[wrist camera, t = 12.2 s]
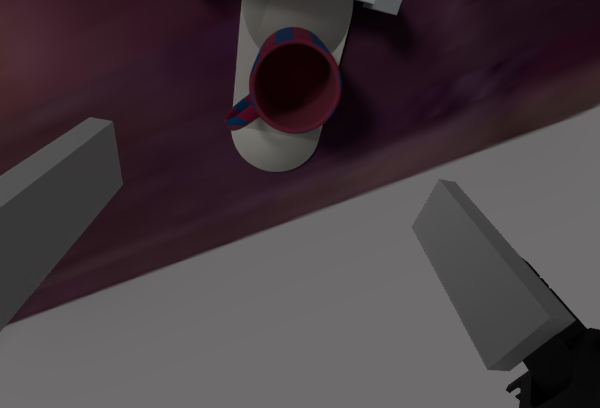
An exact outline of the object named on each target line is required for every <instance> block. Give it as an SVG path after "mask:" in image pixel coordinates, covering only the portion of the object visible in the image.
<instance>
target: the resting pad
mask: <svg viewBox="0 0 600 408" xmlns="http://www.w3.org/2000/svg"><path fill="white" fill-rule="evenodd" d="M352 10H353V0H242V5H241V17H240V29H239V41H238V53H237V65H236V77H235V89H234V101H233V107H234V106H235V105H236V104H237V103H238V102H239V101H241V100H242V99H243V98H244V97H246V96H247V95H248V94H250V93H249V78H250V73H251V70H252V67H253V64H254V62H255V60H256V57H257V55H258V53H259V50H260V48H261V47H262V45H263V43H264V42H265V41H266V39H267V38H268V37H269V36H270V35H272V34H273V33H274V32H276V31H278V30H280V29H283V28H287V27H300V28H303V29H307V30H309V31H310V32H312V33H314V34H315V35H316V36H317V37H319V39H320V40H321V41H322V42H323V43H324V45H325V46H326V48H327V49H328V50H329V52H330V53H331V55H332V56H333V58H334V59H335V61H336V63H337V65H338V66H339V62H340V59H341V55H342V51H343V47H344V44H345V40H346V36H347V32H348V29H349V25H350V21H351V17H352ZM322 126H323V125H321V126H320V127H318V128H317V129H314V130H312V131H310V132H306V133H300V134H290V133H285V132H281V131H278V130H276V129H274V128H272V127H271V126H269V125H268V124H267V123H266V122H264V121H263V120H262V119H261V117H259V118H257V119H256V120H254V121H253V122H251V123H250V124H248V125H247V126H245V127H243V128H241V129H239V130H236V131H231V132H232V138H233V142H234V144H235V146H236V148H237V150H238V152H239V153H240V154H241V156H242V157H243V158H244V159H245V160H246V161H248V162H249V163H250V164H252V165H253V166H255V167H257V168H259V169H262V170H266V171H271V172H283V171H288V170H291V169H294V168H296V167H298V166H300V165H302V164H303V163H304V162H306V161H307V160H308V159H309V158H310V156H311V155H312V154H313V152H314V151H315V149H316V147H317V144H318V140H319V137H320V133H321V129H322Z"/></svg>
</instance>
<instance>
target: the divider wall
mask: <svg viewBox="0 0 600 408" xmlns="http://www.w3.org/2000/svg"><path fill="white" fill-rule="evenodd" d="M357 1H360V2H363V6H362V7H365V8H369V9H373V10H377V11H380V12H385V13H389V14H394V15H397V13H398V10H399V7H400V4H401V1H402V0H357Z"/></svg>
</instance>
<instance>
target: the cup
mask: <svg viewBox="0 0 600 408" xmlns="http://www.w3.org/2000/svg"><path fill="white" fill-rule="evenodd" d="M341 91H342V79H341V74H340V70H339V67H338V65H337V63H336V61H335V59H334V58H333V56H332V55H331V53H330V52H329V50H328V49H327V48H326V46H325V45H324V43H323V42H322V41H321V40H320V39H319V37H317V36H316V35H315V34H314V33H312V32H310V31H309V30H307V29H303V28H300V27H287V28H283V29H280V30H278V31H276V32H274V33H273V34H272V35H270V36H269V37H268V38H267V39H266V41H265V42H264V43H263V45H262V47H261V48H260V50H259V53H258V55H257V57H256V60H255V62H254V64H253V67H252V70H251V73H250V78H249V93H250V94H248V95H247V96H246V97H244V98H243V99H242V100H241V101H239V102H238V103H237V104H236V105H235V106H234V107H233V108H232V109H231V110H230V111H229V112H228V113H227V115H226V116H225V119H224V122H225V124H226V126H227V127H228V128H229V129H230V130H231V131H236V130H239V129H241V128H243V127H245V126H247V125H248V124H250V123H251V122H253V121H254V120H256V119H257V118H259V117H261V119H262V120H263V121H264V122H266V123H267V124H268V125H269V126H271V127H272V128H274V129H276V130H278V131H281V132H285V133H290V134H300V133H306V132H310V131H312V130H314V129H317V128H318V127H320V126H321V125H323V124H324V123H325V122H326V121H327V120H328V119H329V118H330V117H331V116H332V114H333V113H334V112H335V110H336V108H337V106H338V103H339V100H340V97H341Z"/></svg>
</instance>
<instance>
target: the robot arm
mask: <svg viewBox="0 0 600 408" xmlns="http://www.w3.org/2000/svg"><path fill="white" fill-rule="evenodd" d="M122 185H123V182H122V176H121V170H120V164H119V157H118V151H117V145H116V139H115V132H114V126H113V121H108V120H102V119H96V118H91V117H90V118H88V119H87V120H85V121H83V122H82V123H80V124H79V125H77V126H76V127H74V128H73V129H71V130H70V131H68V132H67V133H65V134H64V135H62V136H61V137H59V138H58V139H56V140H55V141H53V142H51V143H50V144H48V145H47V146H45V147H44V148H42V149H41V150H39V151H38V152H36V153H35V154H33V155H32V156H30V157H29V158H27V159H26V160H24V161H22V162H21V163H19V164H18V165H16V166H15V167H13V168H12V169H10V170H9V171H7V172H6V173H4V174H3V175H1V176H0V331H1V330H2V329H3V328H4V327H5V325H6V324H7V323H8V322H9V321H10V319H11V318H12V317H13V316H14V315H15V313H16V312H17V311H18V310H19V309H20V307H21V306H22V305H23V304H24V303H25V301H26V300H27V299H28V298H29V297H30V295H31V294H32V293H33V292H34V291H35V289H36V288H37V287H38V286H39V285H40V283H41V282H42V281H43V280H44V279H45V277H46V276H47V275H48V274H49V273H50V271H51V270H52V269H53V268H54V267H55V265H56V264H57V263H58V262H59V261H60V259H61V258H62V257H63V256H64V255H65V253H66V252H67V251H68V250H69V249H70V247H71V246H72V245H73V244H74V243H75V241H76V240H77V239H78V238H79V237H80V235H81V234H82V233H83V232H84V231H85V229H86V228H87V227H88V226H89V225H90V223H91V222H92V221H93V220H94V219H95V217H96V216H97V215H98V214H99V213H100V211H101V210H102V209H103V208H104V207H105V205H106V204H107V203H108V202H109V201H110V199H111V198H112V197H113V196H114V195H115V193H116V192H117V191H118V190H119V189H120V187H121V186H122ZM412 228H413V230H414V232H415V234H416V236H417V238H418V239H419V241H420V243H421V245H422V247H423V249H424V251H425V253H426V255H427V256H428V258H429V260H430V262H431V264H432V266H433V268H434V270H435V271H436V273H437V275H438V277H439V279H440V281H441V283H442V285H443V287H444V289H445V290H446V292H447V294H448V296H449V298H450V300H451V302H452V304H453V305H454V307H455V309H456V311H457V313H458V315H459V317H460V319H461V320H462V322H463V324H464V326H465V328H466V330H467V332H468V334H469V336H470V337H471V340H472V341H473V343H474V345H475V347H476V349H477V351H478V353H479V355H480V357H481V358H482V360H483V362H484V364H485V366H486V368H487V370H500V371H510V370H511V369H513V368H514V367H515V366H517V365H518V364H519V363H521V362H522V361H523V362H524V364H525V365H526V367H527V368H528V370H529V371H527V372H526V373H525V374H524V375H522V376H521V377H519V378H518V379H516V380H515V381H514V382H512V383H511V384H509V385H508V387H507V389H506V391H508V392H509V393H510V392H512V391H513V390H515V389H516V388H520V389H521V392H520V393H519V394H518V395H516V396H515V397H516V398H517V399H519V400H520V405H519V408H600V330H598V329H593V328H589V329H587V328H586V327H585V326H584V325H583V324H582V323H581V322H580V320H579V319H578V318H577V317H576V316H575V315H574V314H573V313H572V312H571V310H570V309H569V308H568V307H567V306H566V305H565V304H564V302H563V301H562V300H561V299H560V298H559V297H558V296H557V295H556V293H555V292H554V291H553V290H552V289H551V288H549V286H548V284H547V283H546V282H545V281H544V280H543V279H542V278H540V275H539V274H538V273H537V272H536V271H535V270H534V269H533V267H532V266H531V265H530V264H529V263H528V262H527V261H525V260H524V259H523V258H521V257H520V256H519V255H518V253H517V252H516V251H515V250H514V249H513V248H512V247H511V246H510V244H509V243H508V242H507V241H506V240H505V239H504V237H503V236H502V235H501V234H500V233H499V232H498V231H497V229H495V227H494V226H493V225H492V224H491V223H490V221H489V220H488V219H487V218H486V217H485V216H484V215H483V213H482V212H481V211H480V210H479V209H478V208H477V207H476V205H475V204H474V203H473V202H472V201H471V200H470V199H469V198H468V197H467V195H466V194H465V193H464V192H463V191H462V190H461V188H460V187H459V186H458V185H457V184H456V183H455V182H452V181H446V180H441V179H439V181H438V183H437V184H436V186H435V187H434V189H433V191H432V193H431V194H430V196H429V198H428V200H427V202H426V203H425V205H424V207H423V209H422V210H421V212H420V214H419V216H418V217H417V219H416V221H415V223H414V224H413V226H412Z"/></svg>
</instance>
